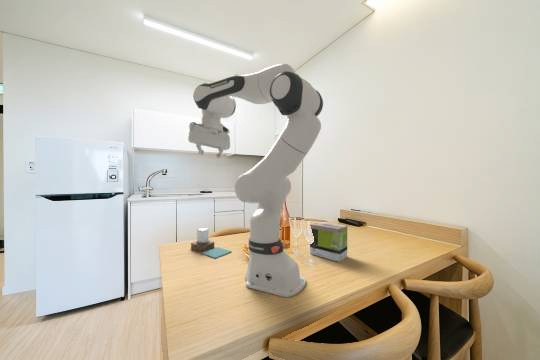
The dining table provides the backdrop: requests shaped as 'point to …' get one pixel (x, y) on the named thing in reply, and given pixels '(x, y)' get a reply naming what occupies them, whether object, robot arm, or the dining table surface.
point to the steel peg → (202, 236)
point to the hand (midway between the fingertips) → (210, 155)
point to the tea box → (329, 241)
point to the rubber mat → (216, 252)
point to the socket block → (202, 246)
